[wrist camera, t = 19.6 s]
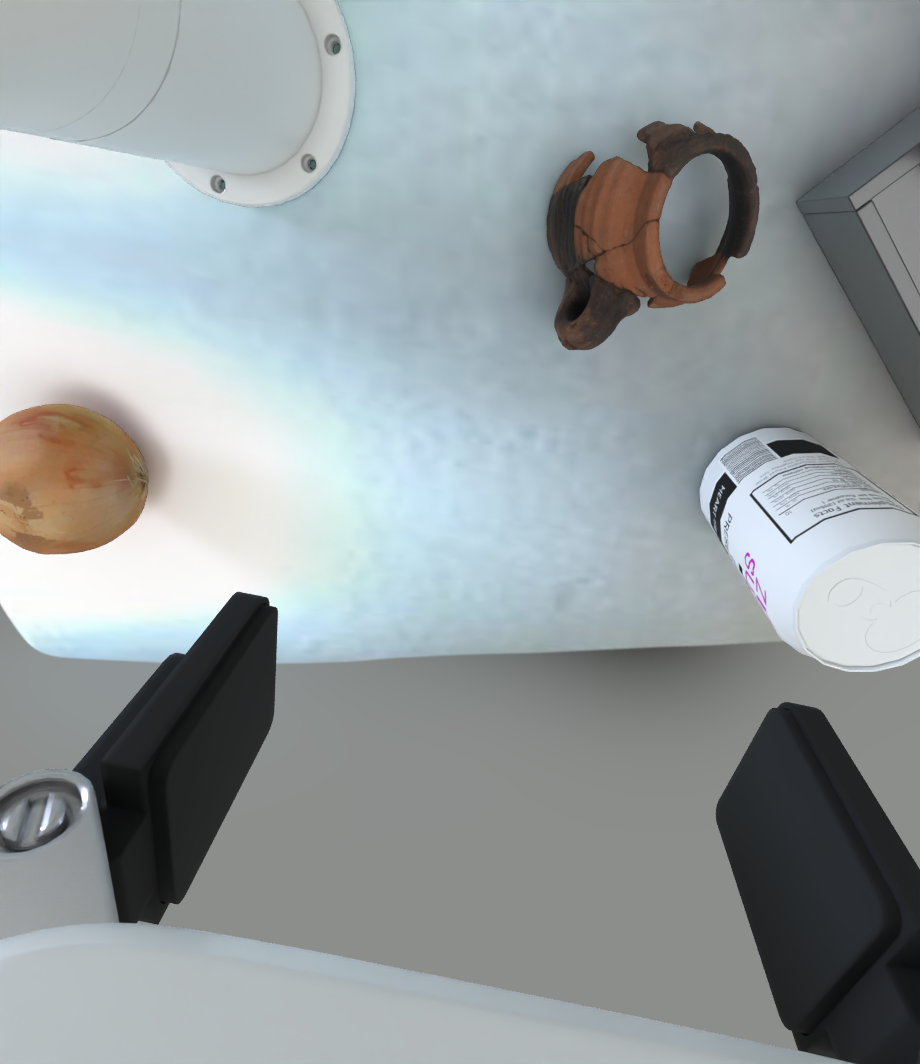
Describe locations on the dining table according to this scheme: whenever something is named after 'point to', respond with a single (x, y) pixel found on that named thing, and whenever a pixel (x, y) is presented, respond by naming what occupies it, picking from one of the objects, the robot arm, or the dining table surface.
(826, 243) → the sink
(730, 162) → the pottery mug
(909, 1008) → the robot arm
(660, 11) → the dining table surface
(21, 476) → the onion
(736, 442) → the supplement can
